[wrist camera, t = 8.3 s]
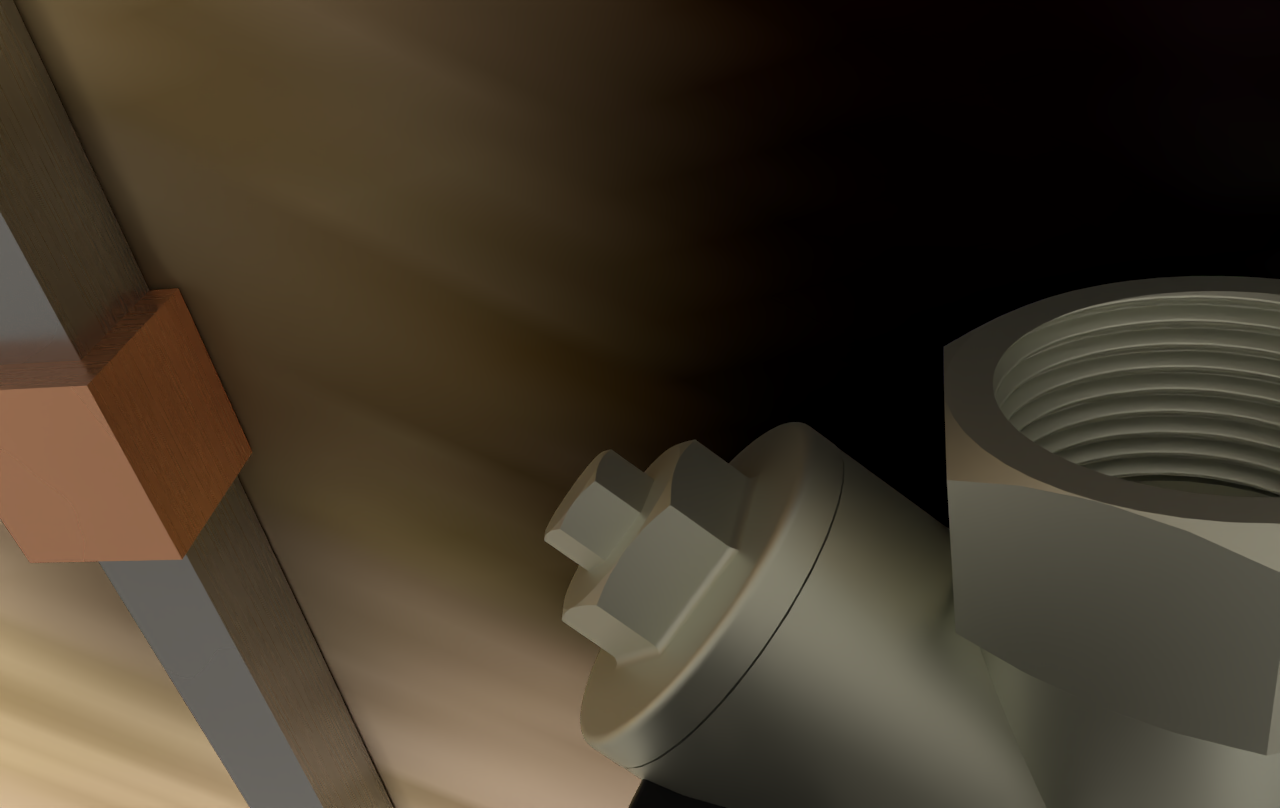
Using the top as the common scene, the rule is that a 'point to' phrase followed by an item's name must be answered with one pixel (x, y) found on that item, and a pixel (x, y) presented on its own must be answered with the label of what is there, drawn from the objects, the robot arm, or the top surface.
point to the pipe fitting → (966, 581)
